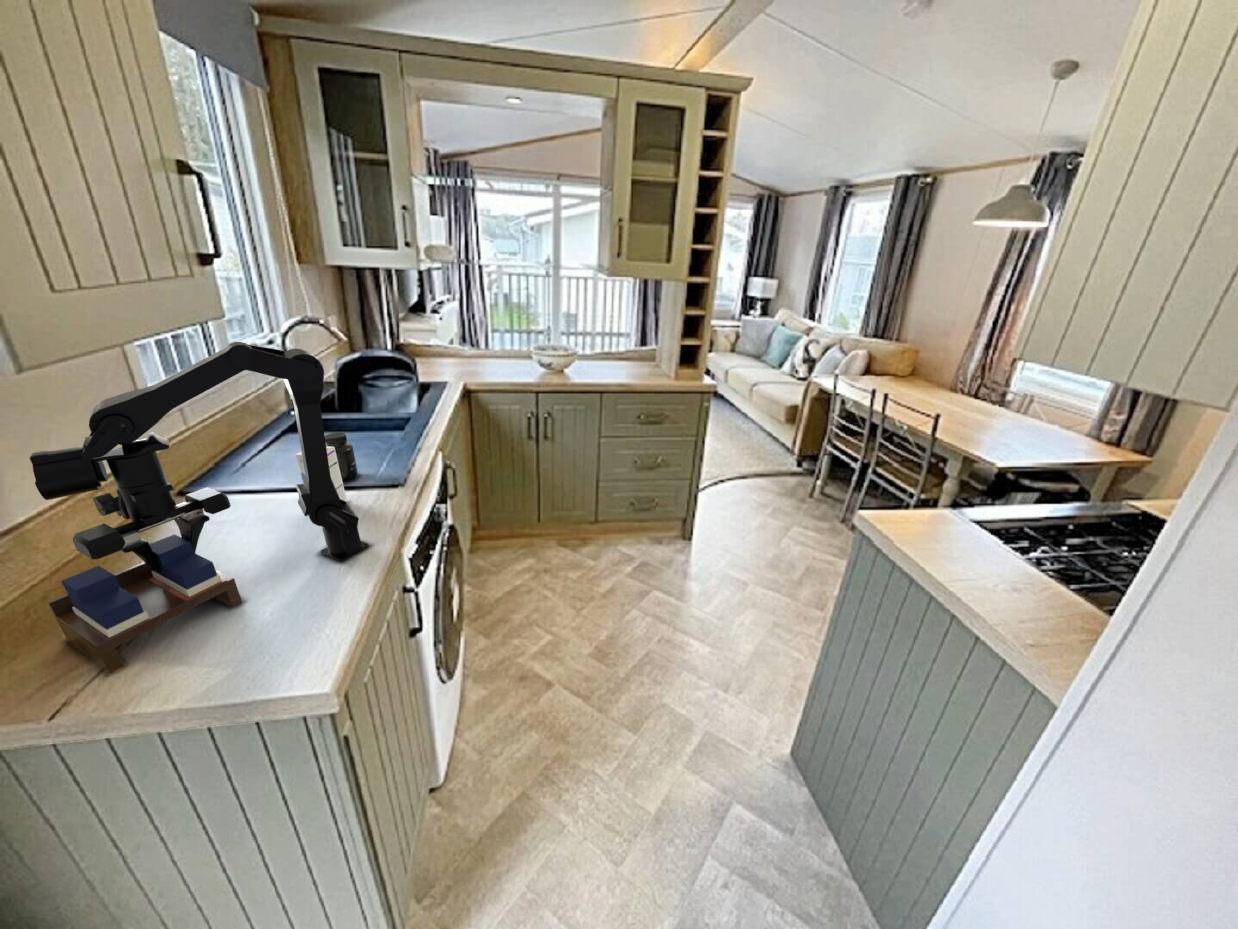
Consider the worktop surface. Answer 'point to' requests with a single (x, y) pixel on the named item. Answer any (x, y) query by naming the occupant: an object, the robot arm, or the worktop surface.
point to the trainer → (183, 566)
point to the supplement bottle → (343, 455)
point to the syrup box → (334, 471)
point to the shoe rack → (153, 599)
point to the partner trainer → (103, 601)
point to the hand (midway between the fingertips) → (175, 564)
